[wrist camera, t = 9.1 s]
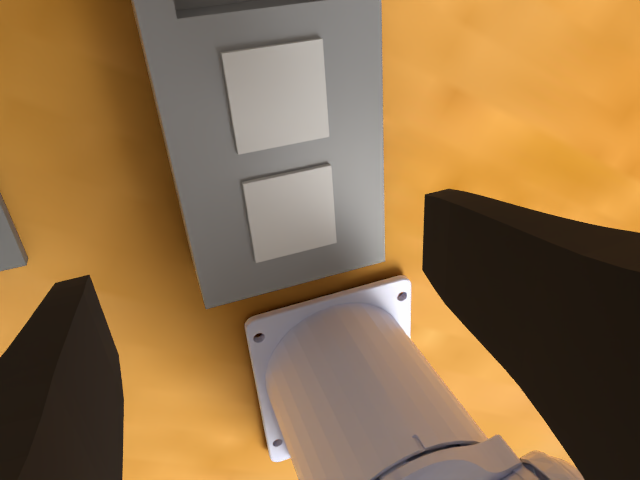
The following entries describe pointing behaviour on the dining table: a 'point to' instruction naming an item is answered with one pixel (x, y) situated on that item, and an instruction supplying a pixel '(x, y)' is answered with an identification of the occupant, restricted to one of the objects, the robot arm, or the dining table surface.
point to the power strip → (270, 136)
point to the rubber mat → (10, 242)
